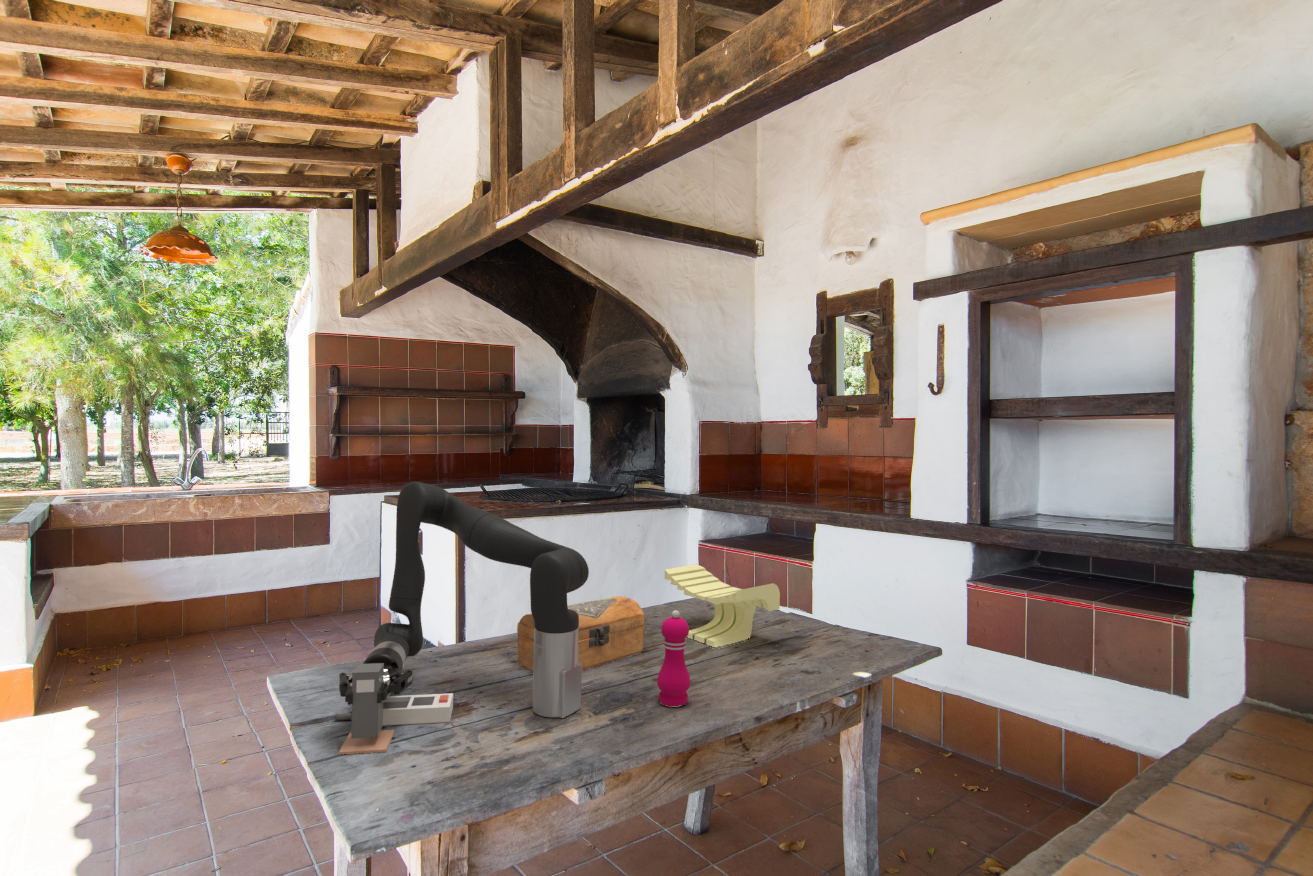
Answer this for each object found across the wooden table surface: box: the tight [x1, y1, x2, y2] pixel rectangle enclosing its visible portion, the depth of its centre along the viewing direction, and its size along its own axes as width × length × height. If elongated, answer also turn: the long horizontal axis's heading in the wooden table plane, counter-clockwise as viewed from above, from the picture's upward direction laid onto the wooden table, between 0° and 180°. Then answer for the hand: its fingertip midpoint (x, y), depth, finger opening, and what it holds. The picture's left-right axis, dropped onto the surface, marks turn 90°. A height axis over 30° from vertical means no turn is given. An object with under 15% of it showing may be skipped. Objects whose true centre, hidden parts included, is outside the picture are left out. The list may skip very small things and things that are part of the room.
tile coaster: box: [338, 729, 395, 756], centre depth 127 cm, size 8×8×1 cm
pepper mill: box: [656, 609, 691, 706], centre depth 149 cm, size 7×7×20 cm
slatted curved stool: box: [664, 564, 781, 647], centre depth 195 cm, size 30×16×18 cm, turn 41°
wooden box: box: [516, 595, 646, 671], centre depth 175 cm, size 30×16×14 cm, turn 133°
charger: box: [350, 663, 384, 739], centre depth 126 cm, size 4×5×12 cm
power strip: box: [334, 692, 454, 727], centre depth 138 cm, size 22×7×4 cm, turn 101°
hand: (364, 698), depth 124 cm, fingers closed on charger, 4 cm apart
